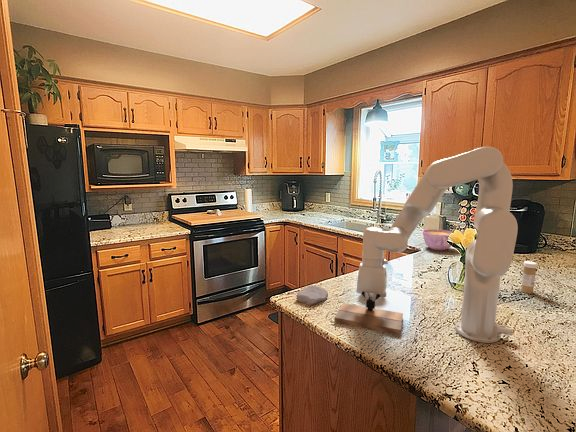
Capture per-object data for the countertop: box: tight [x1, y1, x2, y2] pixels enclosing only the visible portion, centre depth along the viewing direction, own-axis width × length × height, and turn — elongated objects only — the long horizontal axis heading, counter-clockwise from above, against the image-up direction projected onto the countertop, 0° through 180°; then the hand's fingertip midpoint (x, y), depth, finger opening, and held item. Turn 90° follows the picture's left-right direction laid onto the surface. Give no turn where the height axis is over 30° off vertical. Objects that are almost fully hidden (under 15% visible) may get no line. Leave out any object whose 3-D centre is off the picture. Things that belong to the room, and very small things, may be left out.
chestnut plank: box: [338, 302, 404, 323], centre depth 113 cm, size 22×6×2 cm, turn 67°
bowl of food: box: [422, 228, 453, 252], centre depth 207 cm, size 20×20×12 cm
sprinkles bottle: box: [520, 260, 538, 295], centre depth 135 cm, size 5×5×14 cm
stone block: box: [296, 284, 329, 306], centre depth 128 cm, size 12×5×10 cm
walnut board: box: [333, 309, 403, 336], centre depth 107 cm, size 22×6×2 cm, turn 67°
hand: (370, 309), depth 114 cm, fingers closed
